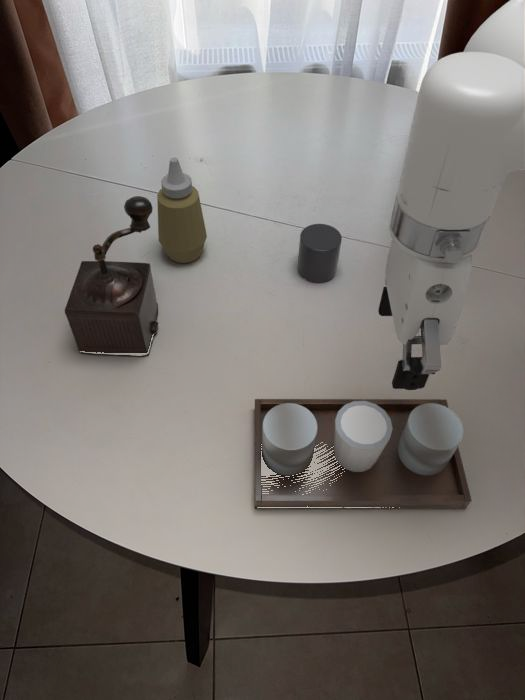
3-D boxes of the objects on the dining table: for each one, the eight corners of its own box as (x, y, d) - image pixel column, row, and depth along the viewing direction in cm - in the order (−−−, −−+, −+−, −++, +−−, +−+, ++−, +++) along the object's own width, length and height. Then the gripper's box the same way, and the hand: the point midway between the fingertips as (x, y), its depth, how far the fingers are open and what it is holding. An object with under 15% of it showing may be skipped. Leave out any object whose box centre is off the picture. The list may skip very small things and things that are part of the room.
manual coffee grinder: (153, 358, 85) (134, 267, 71) (78, 354, 85) (44, 263, 71) (168, 283, 95) (154, 190, 81) (100, 280, 95) (75, 187, 81)
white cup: (357, 420, 78) (365, 390, 72) (393, 458, 74) (404, 429, 69) (318, 446, 75) (323, 418, 70) (353, 486, 72) (361, 459, 66)
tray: (442, 408, 80) (457, 377, 74) (466, 508, 71) (485, 481, 65) (254, 408, 80) (255, 376, 74) (254, 509, 71) (255, 481, 65)
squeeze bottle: (210, 237, 102) (204, 145, 88) (205, 269, 97) (198, 177, 83) (164, 235, 102) (150, 143, 88) (157, 267, 97) (142, 174, 83)
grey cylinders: (444, 256, 100) (456, 224, 94) (453, 283, 96) (465, 251, 90) (296, 255, 99) (299, 223, 94) (298, 283, 95) (301, 250, 90)
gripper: (513, 294, 42) (453, 418, 56) (460, 157, 53) (420, 289, 66) (411, 295, 42) (375, 419, 56) (378, 158, 53) (354, 289, 66)
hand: (399, 348), depth 61 cm, fingers open, 9 cm apart
